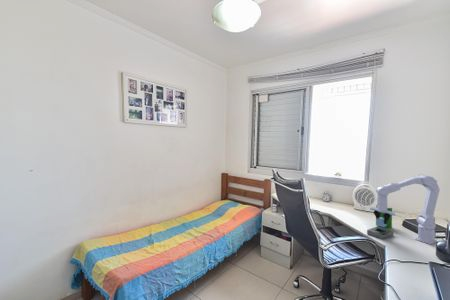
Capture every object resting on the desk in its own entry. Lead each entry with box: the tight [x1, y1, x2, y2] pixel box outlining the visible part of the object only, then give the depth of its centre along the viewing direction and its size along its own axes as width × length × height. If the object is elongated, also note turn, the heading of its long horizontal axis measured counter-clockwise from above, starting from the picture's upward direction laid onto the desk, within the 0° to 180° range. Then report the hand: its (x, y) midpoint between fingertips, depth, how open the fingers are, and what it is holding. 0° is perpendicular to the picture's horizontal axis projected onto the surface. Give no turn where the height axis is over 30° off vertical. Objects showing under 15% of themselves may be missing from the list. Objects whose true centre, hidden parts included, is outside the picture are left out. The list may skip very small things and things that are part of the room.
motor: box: [375, 204, 393, 229], centre depth 157 cm, size 10×9×20 cm
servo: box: [375, 217, 386, 228], centre depth 141 cm, size 7×4×6 cm, turn 117°
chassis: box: [366, 225, 395, 241], centre depth 142 cm, size 14×10×3 cm
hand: (381, 222), depth 141 cm, fingers closed on servo, 4 cm apart
